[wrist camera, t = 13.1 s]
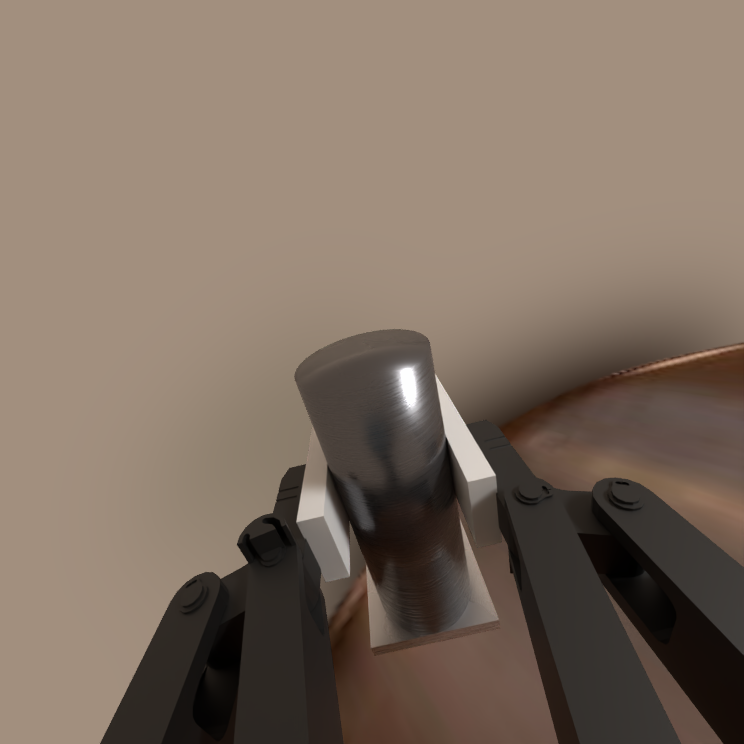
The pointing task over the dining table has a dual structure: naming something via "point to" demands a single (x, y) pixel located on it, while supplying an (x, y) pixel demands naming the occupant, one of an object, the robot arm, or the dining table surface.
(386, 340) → the metal post on base
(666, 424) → the dining table surface
